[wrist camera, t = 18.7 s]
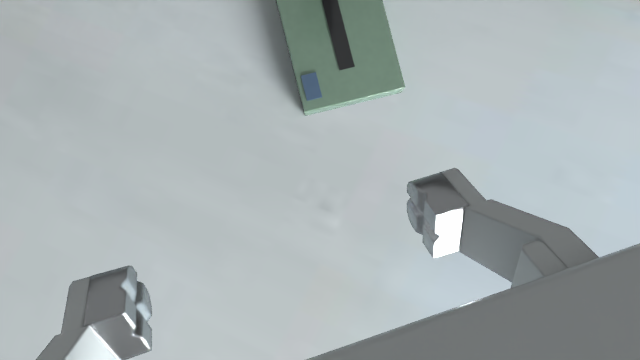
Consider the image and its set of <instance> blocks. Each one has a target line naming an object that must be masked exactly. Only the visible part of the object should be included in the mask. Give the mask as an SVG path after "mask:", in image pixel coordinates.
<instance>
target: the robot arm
mask: <svg viewBox="0 0 640 360" xmlns="http://www.w3.org/2000/svg"><path fill="white" fill-rule="evenodd" d="M407 193H408V194H409V196H410V197H411V198H410V199H409V200H408V202H407V213H408V217H409V220H410V223H411V225H412V227H413V228H414V230H415V231H416V232H417V233H419V234H422V235H423V244H424V245H425V247H426V248H427V250H428V251H429V253H430V254H431V256H432V257H433V258H436V257H439V256H443V255H446V254H449V253H453V252H456V251H459V250H460V251H459V252H461V253H462V254H464V255H466V256H467V257H469V258H471V259H473V260H474V261H476V262H478V263H479V264H481V265H483V266H485V267H486V268H488V269H490V270H491V271H493V272H495V273H497V274H498V275H500V276H502V277H503V278H505V279H507V280H509V281H510V282H512V285H511V288H510V289H507V290H504V291H502V292H499V293H496V294H493V295H490V296H487V297H484V298H481V299H478V300H476V301H473V302H470V303H467V304H464V305H461V306H458V307H455V308H453V309H450V310H447V311H444V312H441V313H438V314H435V315H433V316H430V317H427V318H424V319H421V320H418V321H415V322H412V323H410V324H407V325H404V326H401V327H398V328H395V329H392V330H390V331H387V332H384V333H381V334H378V335H375V336H372V337H370V338H367V339H364V340H361V341H358V342H355V343H352V344H350V345H347V346H344V347H341V348H338V349H335V350H332V351H329V352H327V353H324V354H321V355H318V356H315V357H312V358H309V359H306V360H640V243H639V244H637V245H634V246H631V247H628V248H625V249H622V250H619V251H617V252H614V253H611V254H608V255H605V256H602V257H598V256H597V255H596V254H595V253H594V252H593V251H592V250H591V249H590V248H589V247H588V246H587V245H586V244H585V243H584V242H583V241H582V240H581V239H580V238H579V237H577V236H576V235H575V234H574V233H573V232H572V231H571V230H570V229H569V228H567V227H564V226H561V225H559V224H556V223H553V222H551V221H548V220H545V219H543V218H540V217H537V216H534V215H532V214H529V213H526V212H524V211H521V210H518V209H516V208H513V207H510V206H508V205H505V204H502V203H499V202H497V201H494V200H487V201H486V199H485V198H484V197H483V196H482V195H481V194H480V193H479V192H478V191H477V190H476V188H475V187H474V186H473V185H472V184H471V183H470V182H469V181H468V180H467V179H466V177H465V176H464V175H463V174H462V173H461V172H460V171H459V170H458V169H456V168H452V169H449V170H446V171H443V172H440V173H436V174H433V175H430V176H427V177H423V178H420V179H417V180H414V181H410V182H408V185H407ZM151 316H152V306H151V301H150V296H149V293H148V291H147V289H146V287H145V285H144V284H143V283H141V282H139V281H137V272H136V271H135V270H134V268H133V267H132V266H125V267H122V268H118V269H114V270H111V271H107V272H104V273H100V274H96V275H93V276H90V277H87V278H83V279H79V280H76V281H73V282H72V283H71V285H70V286H69V291H68V296H67V302H66V307H65V313H64V319H63V324H62V330H61V334H59V335H56V336H54V338H53V339H52V340H51V341H50V343H49V344H48V345H47V346H46V348H45V349H44V350H43V351H42V353H41V354H40V355H39V356H38V358H37V359H36V360H126V359H129V358H132V357H135V356H138V355H140V354H143V353H146V352H149V351H152V329H151V327H150V326H149V324H148V323H147V322H148V320H149V319H150V317H151Z"/></svg>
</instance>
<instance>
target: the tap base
mask: <svg viewBox="0 0 640 360" xmlns="http://www.w3.org/2000/svg"><path fill="white" fill-rule="evenodd" d="M276 3H277V7H278V11H279V15H280V19H281V23H282V27H283V31H284V35H285V39H286V43H287V47H288V51H289V55H290V59H291V63H292V67H293V71H294V75H295V79H296V83H297V87H298V91H299V95H300V99H301V103H302V107H303V111H304V115H305V116H307V115H311V114H315V113H319V112H323V111H327V110H331V109H336V108H340V107H344V106H348V105H352V104H356V103H360V102H364V101H368V100H372V99H376V98H380V97H384V96H389V95H393V94H397V93H401V92H402V91H403V90H404V88H405V85H404V81H403V77H402V73H401V70H400V66H399V62H398V58H397V54H396V50H395V47H394V43H393V39H392V35H391V31H390V28H389V24H388V20H387V16H386V12H385V8H384V5H383V1H382V0H276Z"/></svg>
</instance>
